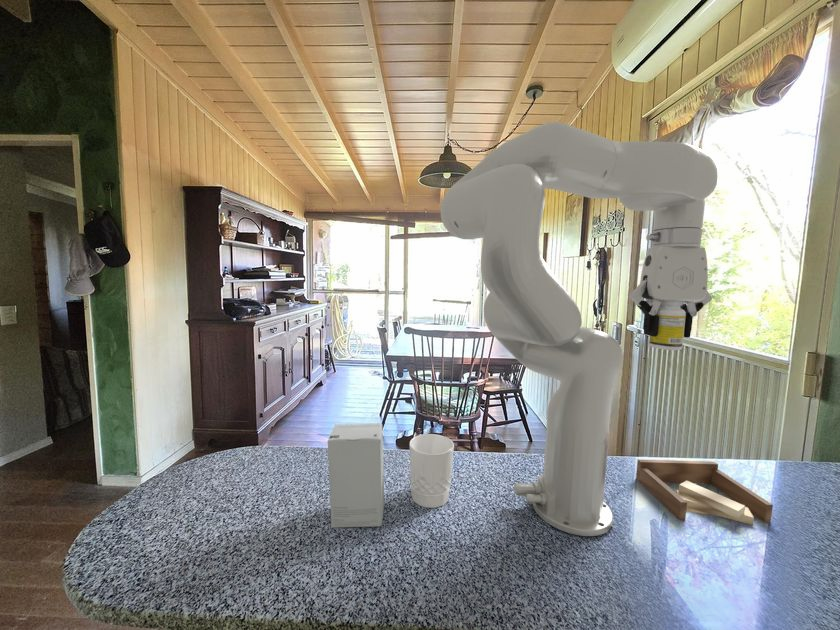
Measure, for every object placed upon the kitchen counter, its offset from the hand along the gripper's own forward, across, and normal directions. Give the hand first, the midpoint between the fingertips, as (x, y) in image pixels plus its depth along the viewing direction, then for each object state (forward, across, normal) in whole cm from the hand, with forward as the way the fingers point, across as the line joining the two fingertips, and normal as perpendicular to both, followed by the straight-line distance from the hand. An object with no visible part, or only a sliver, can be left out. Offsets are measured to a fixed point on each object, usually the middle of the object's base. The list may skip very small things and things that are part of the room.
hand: (666, 334), depth 69 cm
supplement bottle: (+3, 0, 0) cm, 3 cm away
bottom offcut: (+30, +4, -10) cm, 32 cm away
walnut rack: (+29, +4, -7) cm, 30 cm away
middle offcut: (+29, +4, -10) cm, 31 cm away
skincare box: (+30, -57, -14) cm, 66 cm away
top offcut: (+28, +4, -10) cm, 29 cm away
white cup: (+30, -45, -8) cm, 54 cm away
